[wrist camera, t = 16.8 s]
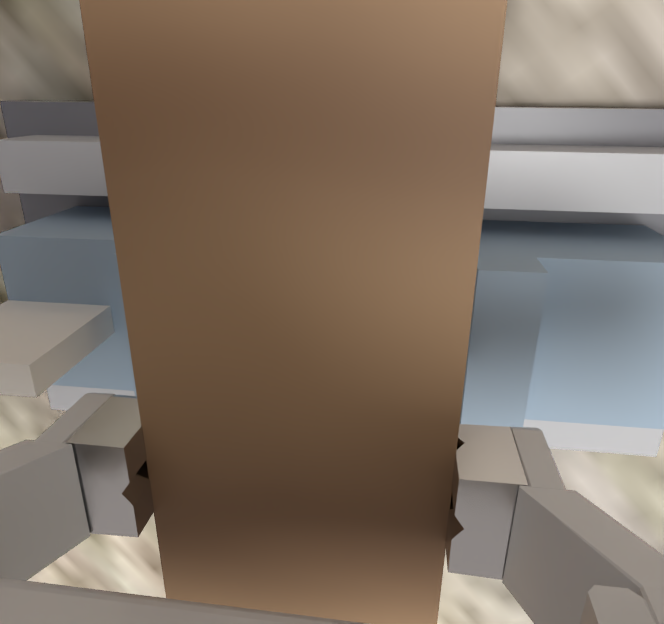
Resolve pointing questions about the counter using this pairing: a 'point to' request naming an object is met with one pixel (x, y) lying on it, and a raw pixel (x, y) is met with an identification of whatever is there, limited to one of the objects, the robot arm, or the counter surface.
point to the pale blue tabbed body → (485, 332)
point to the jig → (500, 202)
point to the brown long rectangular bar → (298, 283)
